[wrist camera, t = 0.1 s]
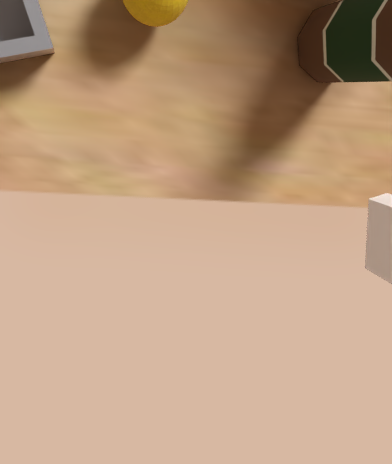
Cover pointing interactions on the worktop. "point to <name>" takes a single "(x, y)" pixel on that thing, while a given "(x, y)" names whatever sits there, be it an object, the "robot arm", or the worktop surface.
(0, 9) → the box
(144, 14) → the lemon
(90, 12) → the worktop surface
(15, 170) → the worktop surface
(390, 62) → the beer bottle
